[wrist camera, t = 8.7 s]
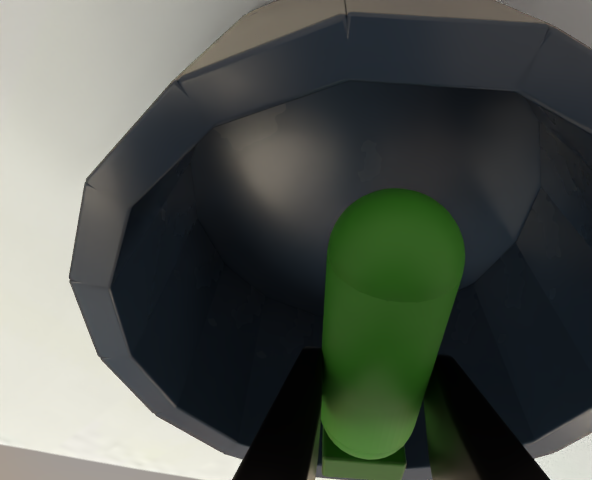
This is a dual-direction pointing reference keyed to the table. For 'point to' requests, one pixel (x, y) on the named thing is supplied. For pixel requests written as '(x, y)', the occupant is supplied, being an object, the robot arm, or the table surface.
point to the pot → (337, 197)
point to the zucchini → (383, 326)
